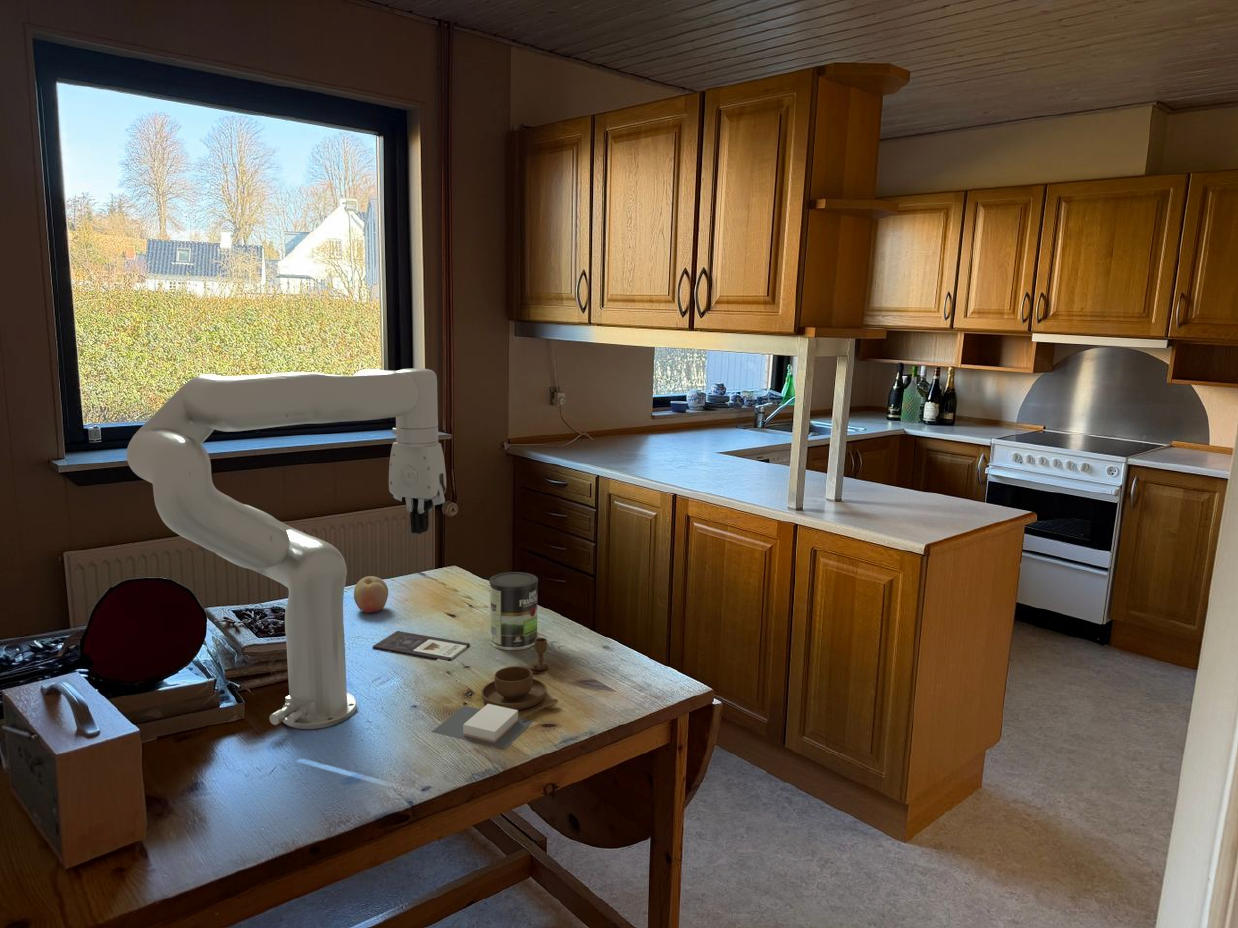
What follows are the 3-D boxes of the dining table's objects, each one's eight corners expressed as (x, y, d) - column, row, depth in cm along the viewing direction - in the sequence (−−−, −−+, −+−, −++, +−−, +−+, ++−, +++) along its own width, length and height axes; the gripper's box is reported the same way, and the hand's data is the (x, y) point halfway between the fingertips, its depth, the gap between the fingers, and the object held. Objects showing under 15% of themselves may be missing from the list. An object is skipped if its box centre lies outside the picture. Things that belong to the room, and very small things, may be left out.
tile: (463, 735, 138) (494, 742, 136) (463, 724, 138) (494, 731, 136) (487, 714, 146) (518, 720, 143) (487, 703, 145) (518, 710, 143)
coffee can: (547, 638, 181) (547, 576, 178) (519, 654, 172) (519, 590, 169) (509, 628, 186) (508, 568, 183) (480, 644, 177) (479, 581, 174)
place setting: (458, 694, 154) (457, 664, 153) (540, 663, 168) (539, 635, 167) (518, 724, 142) (517, 692, 141) (601, 688, 156) (600, 658, 155)
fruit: (349, 616, 191) (347, 583, 189) (360, 604, 199) (359, 572, 197) (383, 617, 191) (381, 584, 189) (393, 605, 198) (392, 573, 197)
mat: (505, 752, 134) (504, 748, 134) (432, 734, 139) (431, 731, 139) (533, 724, 144) (533, 721, 144) (463, 708, 149) (463, 705, 149)
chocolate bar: (397, 630, 182) (469, 643, 176) (397, 634, 182) (469, 647, 176) (372, 646, 173) (447, 659, 168) (372, 650, 173) (447, 664, 168)
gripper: (371, 435, 152) (374, 532, 155) (440, 442, 146) (442, 541, 150) (396, 430, 159) (399, 522, 162) (463, 436, 153) (464, 531, 157)
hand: (419, 531), depth 156 cm, fingers closed
